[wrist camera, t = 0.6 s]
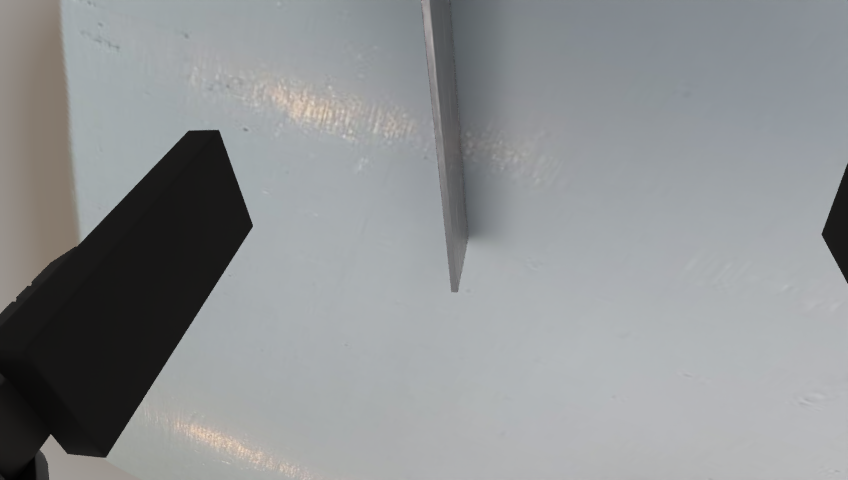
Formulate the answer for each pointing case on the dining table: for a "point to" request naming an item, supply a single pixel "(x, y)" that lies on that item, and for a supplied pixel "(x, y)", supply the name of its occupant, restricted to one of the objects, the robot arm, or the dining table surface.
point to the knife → (446, 130)
